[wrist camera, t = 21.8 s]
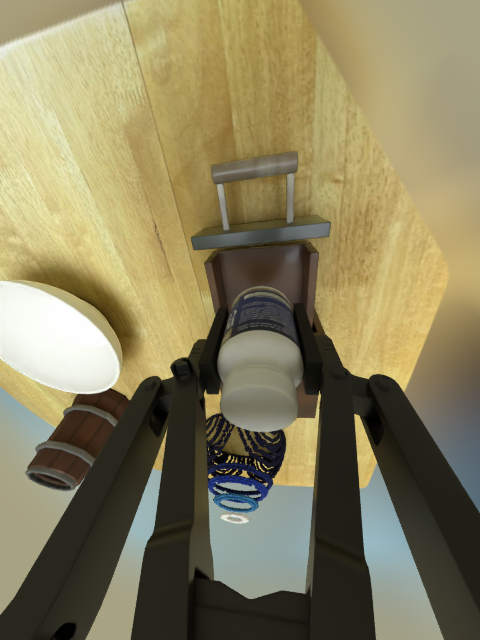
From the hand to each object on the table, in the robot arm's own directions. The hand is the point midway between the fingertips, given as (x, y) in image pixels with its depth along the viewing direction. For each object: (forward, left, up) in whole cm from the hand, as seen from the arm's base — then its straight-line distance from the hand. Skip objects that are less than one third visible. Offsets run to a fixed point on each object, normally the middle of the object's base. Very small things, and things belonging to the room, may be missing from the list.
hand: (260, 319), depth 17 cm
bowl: (+29, -5, -11) cm, 32 cm away
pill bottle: (0, 0, -2) cm, 2 cm away
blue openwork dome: (+20, +35, -11) cm, 42 cm away
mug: (+45, +14, -11) cm, 49 cm away
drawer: (-1, -1, -10) cm, 10 cm away
